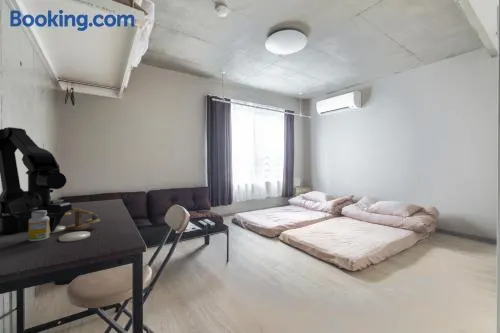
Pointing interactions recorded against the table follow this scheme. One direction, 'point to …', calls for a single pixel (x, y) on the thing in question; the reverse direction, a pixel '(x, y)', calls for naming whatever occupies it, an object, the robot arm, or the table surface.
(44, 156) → the robot arm
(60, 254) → the table surface
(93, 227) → the table surface
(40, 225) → the supplement bottle
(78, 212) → the balance
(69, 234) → the dish low
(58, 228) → the dish high
